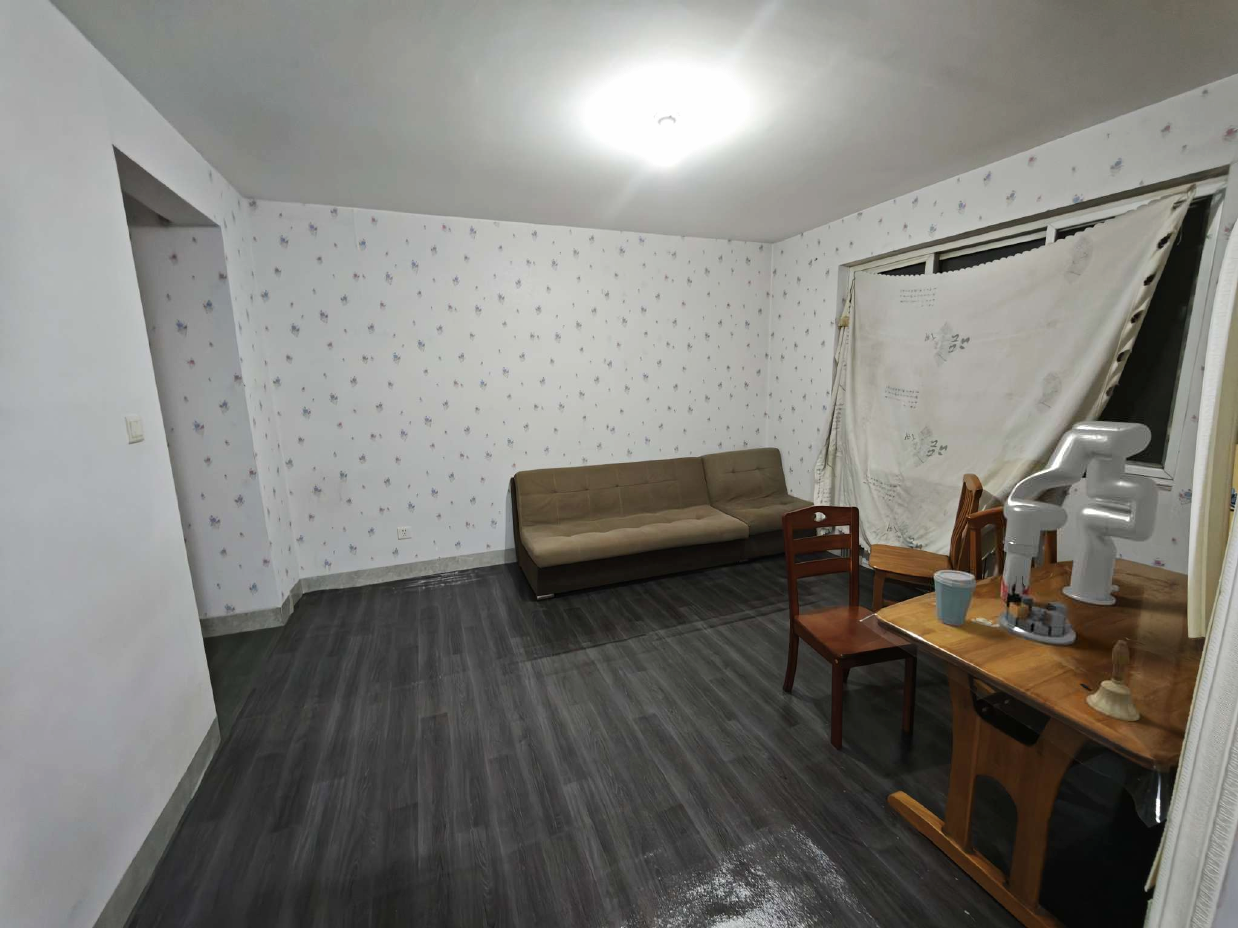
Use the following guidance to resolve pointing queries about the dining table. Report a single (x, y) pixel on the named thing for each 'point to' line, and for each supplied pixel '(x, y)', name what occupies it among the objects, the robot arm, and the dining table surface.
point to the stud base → (1033, 636)
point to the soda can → (1005, 590)
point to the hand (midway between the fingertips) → (1013, 607)
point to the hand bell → (1115, 689)
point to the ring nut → (1050, 625)
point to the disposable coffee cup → (953, 595)
